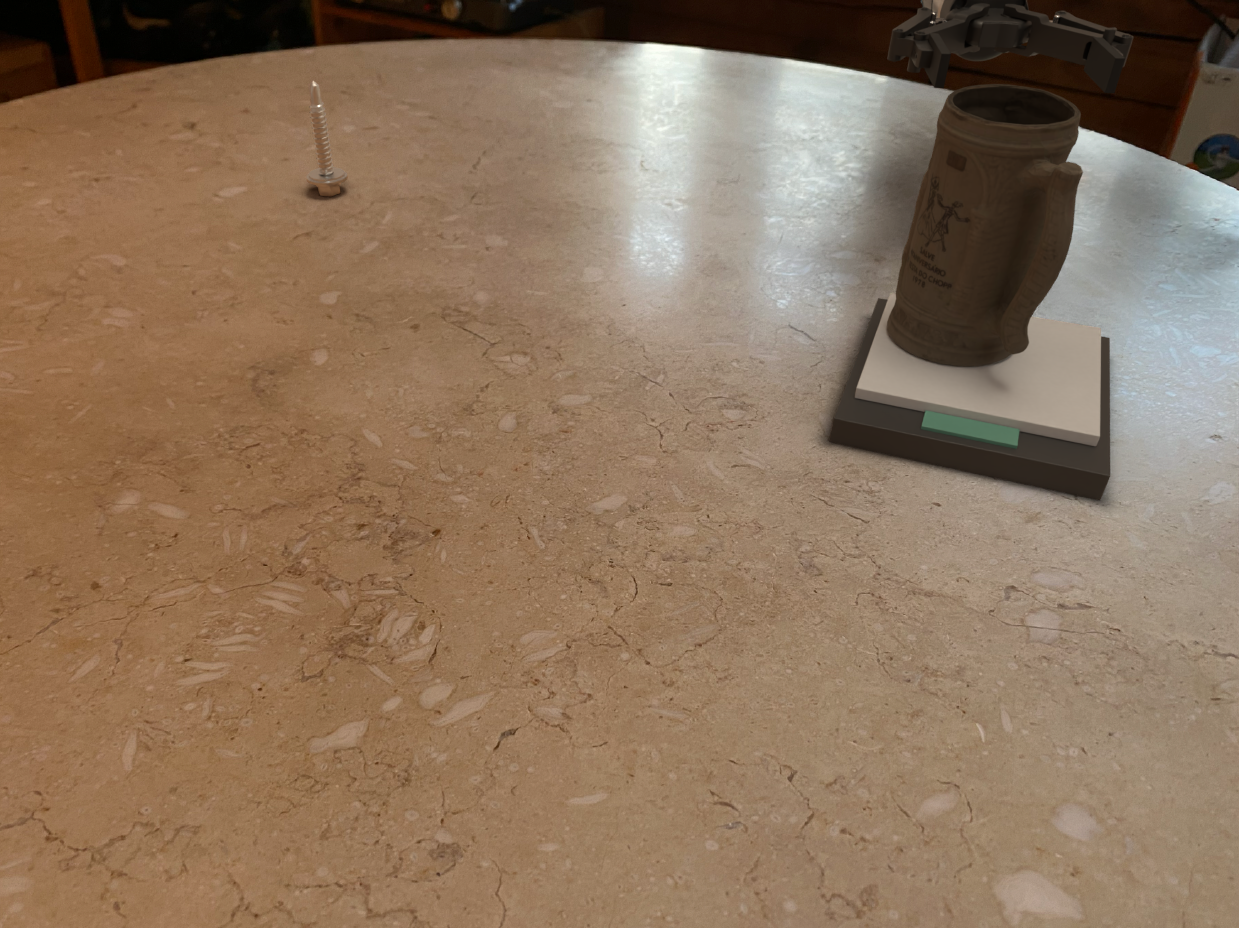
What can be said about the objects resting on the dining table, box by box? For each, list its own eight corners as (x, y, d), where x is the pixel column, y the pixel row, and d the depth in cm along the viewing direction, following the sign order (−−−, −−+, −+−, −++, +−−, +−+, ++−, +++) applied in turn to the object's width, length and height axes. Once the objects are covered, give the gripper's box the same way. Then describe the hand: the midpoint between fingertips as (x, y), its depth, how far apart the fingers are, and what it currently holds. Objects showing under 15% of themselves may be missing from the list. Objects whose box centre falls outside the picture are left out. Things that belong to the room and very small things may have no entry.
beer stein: (856, 315, 92) (913, 86, 78) (954, 294, 95) (1025, 70, 81) (967, 413, 81) (1055, 169, 68) (1074, 385, 85) (1178, 146, 71)
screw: (341, 201, 123) (303, 199, 123) (355, 186, 127) (317, 184, 127) (326, 88, 115) (284, 86, 115) (340, 75, 118) (300, 73, 119)
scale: (1098, 367, 93) (1113, 327, 90) (1097, 508, 77) (1115, 464, 74) (872, 326, 99) (880, 287, 96) (827, 449, 83) (835, 407, 80)
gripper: (1099, 55, 102) (1171, 125, 86) (842, 48, 105) (864, 115, 89) (1125, -29, 98) (1206, 28, 81) (855, -34, 100) (880, 20, 84)
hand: (1028, 73), depth 85 cm, fingers open, 13 cm apart
